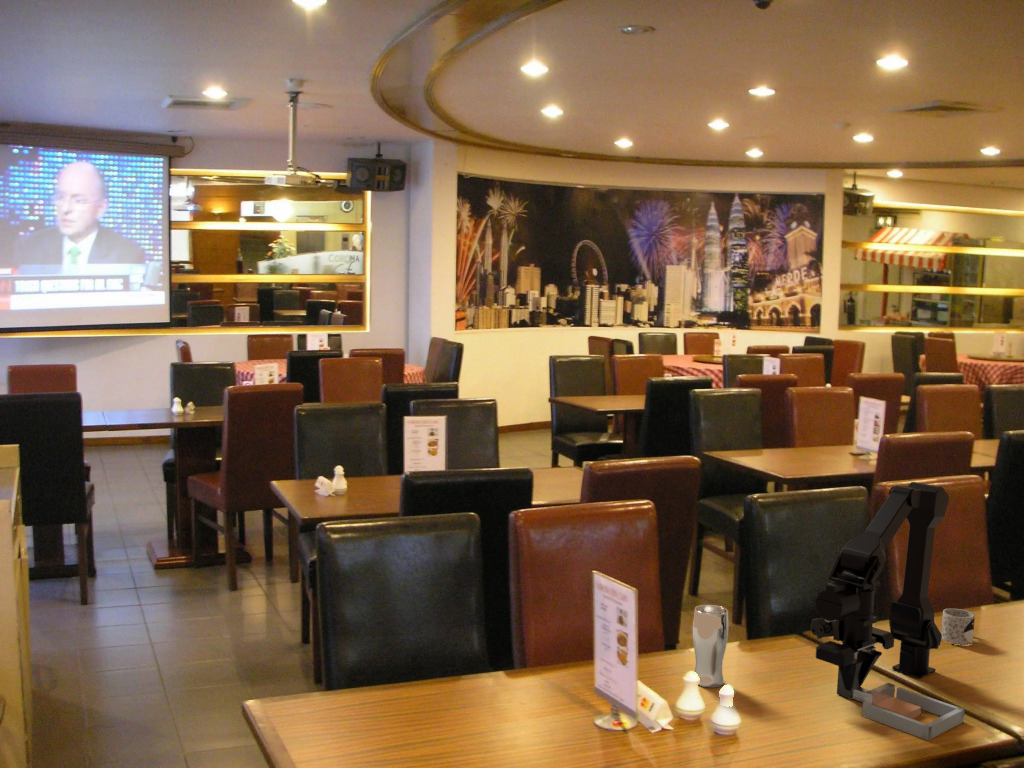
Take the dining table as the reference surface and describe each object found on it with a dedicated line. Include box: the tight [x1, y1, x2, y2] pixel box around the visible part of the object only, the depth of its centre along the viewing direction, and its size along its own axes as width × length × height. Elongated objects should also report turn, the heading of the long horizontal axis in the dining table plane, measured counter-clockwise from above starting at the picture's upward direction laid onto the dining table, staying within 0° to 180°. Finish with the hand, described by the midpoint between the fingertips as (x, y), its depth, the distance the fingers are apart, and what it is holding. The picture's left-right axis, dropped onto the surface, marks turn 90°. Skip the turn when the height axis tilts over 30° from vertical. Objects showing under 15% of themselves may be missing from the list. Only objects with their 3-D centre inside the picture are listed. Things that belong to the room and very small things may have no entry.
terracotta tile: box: [875, 696, 922, 719], centre depth 194 cm, size 6×6×2 cm
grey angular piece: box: [836, 667, 896, 705], centre depth 200 cm, size 8×9×6 cm
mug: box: [941, 608, 976, 645], centre depth 236 cm, size 10×7×7 cm, turn 147°
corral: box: [861, 687, 966, 741], centre depth 192 cm, size 13×13×2 cm
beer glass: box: [692, 604, 729, 689], centre depth 207 cm, size 7×7×15 cm
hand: (853, 688), depth 201 cm, fingers closed on grey angular piece, 3 cm apart
